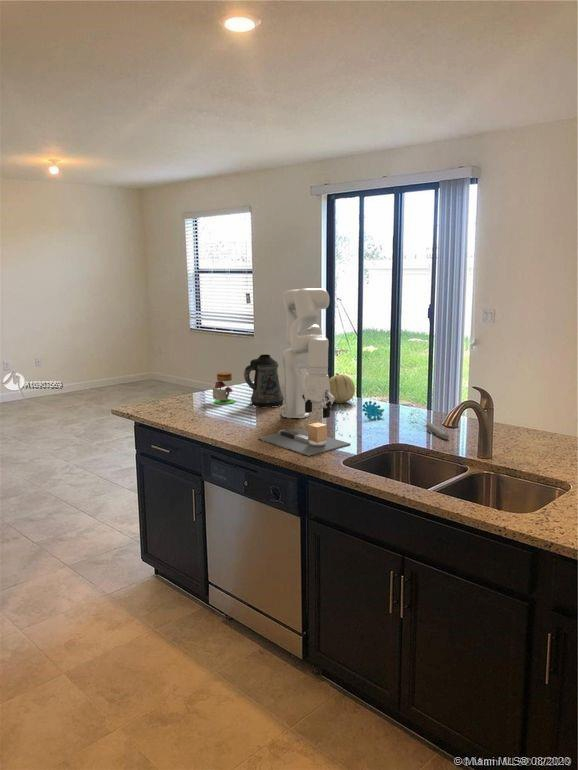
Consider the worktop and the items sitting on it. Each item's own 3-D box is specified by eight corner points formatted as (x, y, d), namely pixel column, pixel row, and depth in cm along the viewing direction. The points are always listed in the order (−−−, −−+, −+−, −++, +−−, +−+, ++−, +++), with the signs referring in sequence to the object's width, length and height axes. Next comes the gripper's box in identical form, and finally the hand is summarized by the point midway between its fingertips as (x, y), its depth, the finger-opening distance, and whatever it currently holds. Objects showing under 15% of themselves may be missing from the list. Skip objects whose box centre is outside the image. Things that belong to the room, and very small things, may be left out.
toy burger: (222, 398, 314) (221, 370, 311) (240, 401, 307) (240, 372, 304) (206, 402, 305) (206, 373, 302) (225, 405, 298) (224, 376, 295)
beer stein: (289, 403, 303) (289, 354, 298) (268, 410, 287) (267, 359, 282) (263, 399, 312) (262, 351, 307) (240, 406, 296) (239, 356, 291)
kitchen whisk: (441, 442, 235) (442, 426, 234) (404, 422, 267) (405, 408, 266) (455, 441, 237) (456, 425, 236) (417, 421, 269) (417, 407, 268)
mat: (257, 439, 239) (257, 437, 239) (298, 429, 253) (298, 428, 253) (308, 456, 217) (308, 455, 217) (350, 444, 231) (350, 443, 231)
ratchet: (275, 435, 243) (275, 420, 241) (287, 432, 247) (287, 418, 246) (317, 448, 225) (317, 433, 223) (329, 445, 229) (329, 430, 228)
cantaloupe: (346, 407, 293) (347, 377, 290) (320, 404, 301) (320, 374, 298) (359, 401, 306) (360, 372, 303) (334, 398, 313) (334, 370, 310)
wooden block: (308, 439, 229) (308, 424, 228) (317, 437, 232) (317, 422, 231) (317, 442, 225) (317, 427, 224) (326, 440, 228) (326, 424, 227)
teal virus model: (365, 417, 266) (361, 399, 272) (360, 424, 270) (356, 406, 276) (387, 419, 270) (382, 400, 275) (382, 426, 274) (377, 407, 280)
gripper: (294, 368, 228) (294, 412, 231) (326, 375, 215) (326, 421, 218) (309, 366, 232) (309, 409, 236) (341, 372, 220) (340, 417, 223)
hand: (317, 414), depth 227 cm, fingers open, 9 cm apart
